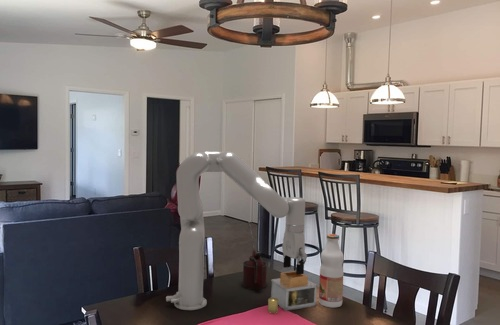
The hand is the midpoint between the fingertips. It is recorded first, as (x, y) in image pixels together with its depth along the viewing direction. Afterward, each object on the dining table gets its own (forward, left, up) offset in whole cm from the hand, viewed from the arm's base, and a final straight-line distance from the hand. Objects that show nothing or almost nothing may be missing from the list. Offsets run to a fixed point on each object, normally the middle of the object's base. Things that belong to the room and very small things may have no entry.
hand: (293, 270), depth 161 cm
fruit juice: (+15, -6, -14) cm, 21 cm away
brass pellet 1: (-11, -5, -13) cm, 18 cm away
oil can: (-4, +28, -14) cm, 32 cm away
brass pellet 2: (+1, 0, -13) cm, 13 cm away
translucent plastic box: (+1, 0, -13) cm, 13 cm away
